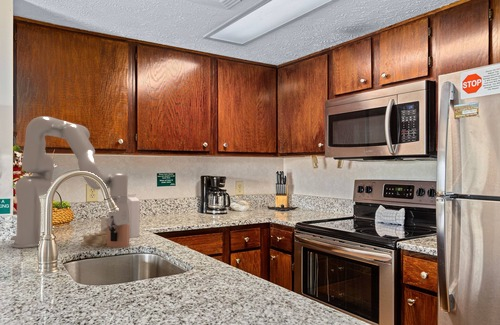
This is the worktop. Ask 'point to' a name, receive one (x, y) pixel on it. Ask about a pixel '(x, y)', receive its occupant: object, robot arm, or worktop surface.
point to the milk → (134, 215)
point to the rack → (97, 235)
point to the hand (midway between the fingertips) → (118, 239)
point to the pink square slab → (119, 237)
